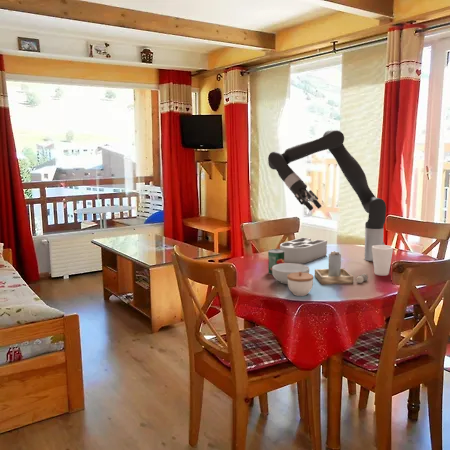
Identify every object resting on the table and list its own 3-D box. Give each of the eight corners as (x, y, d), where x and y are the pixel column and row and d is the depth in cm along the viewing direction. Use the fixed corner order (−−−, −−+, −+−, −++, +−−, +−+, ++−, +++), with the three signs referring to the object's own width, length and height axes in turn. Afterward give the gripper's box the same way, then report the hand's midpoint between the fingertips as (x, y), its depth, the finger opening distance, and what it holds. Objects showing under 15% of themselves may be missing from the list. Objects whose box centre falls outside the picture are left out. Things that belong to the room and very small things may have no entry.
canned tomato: (283, 275, 225) (283, 252, 224) (267, 274, 227) (267, 252, 225) (285, 270, 233) (285, 249, 231) (269, 270, 235) (269, 248, 233)
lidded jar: (284, 290, 201) (284, 269, 200) (309, 289, 202) (309, 268, 201) (290, 298, 191) (290, 275, 189) (316, 296, 192) (316, 274, 190)
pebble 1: (362, 281, 211) (362, 275, 211) (364, 283, 208) (364, 276, 207) (355, 282, 211) (355, 275, 210) (357, 284, 208) (357, 277, 207)
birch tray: (344, 274, 223) (344, 268, 223) (353, 283, 209) (353, 276, 209) (314, 275, 223) (314, 269, 222) (321, 284, 209) (321, 277, 208)
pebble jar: (339, 276, 218) (339, 249, 216) (341, 279, 213) (342, 252, 211) (327, 276, 218) (327, 250, 216) (329, 279, 213) (330, 252, 211)
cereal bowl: (300, 289, 202) (300, 273, 201) (265, 284, 211) (265, 269, 210) (315, 280, 216) (315, 265, 215) (282, 275, 225) (281, 261, 224)
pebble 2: (366, 279, 214) (366, 273, 214) (368, 281, 211) (369, 274, 210) (359, 280, 214) (359, 273, 213) (361, 282, 211) (362, 275, 210)
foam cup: (392, 271, 226) (393, 245, 224) (392, 276, 218) (393, 249, 216) (371, 270, 230) (372, 244, 228) (370, 275, 221) (371, 248, 219)
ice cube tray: (327, 255, 264) (327, 240, 263) (300, 265, 243) (300, 249, 242) (301, 252, 275) (301, 237, 274) (273, 261, 254) (273, 245, 253)
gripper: (292, 180, 226) (314, 204, 221) (307, 178, 237) (327, 201, 232) (283, 190, 230) (304, 215, 225) (297, 188, 242) (317, 211, 236)
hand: (316, 208), depth 229 cm, fingers open, 8 cm apart
